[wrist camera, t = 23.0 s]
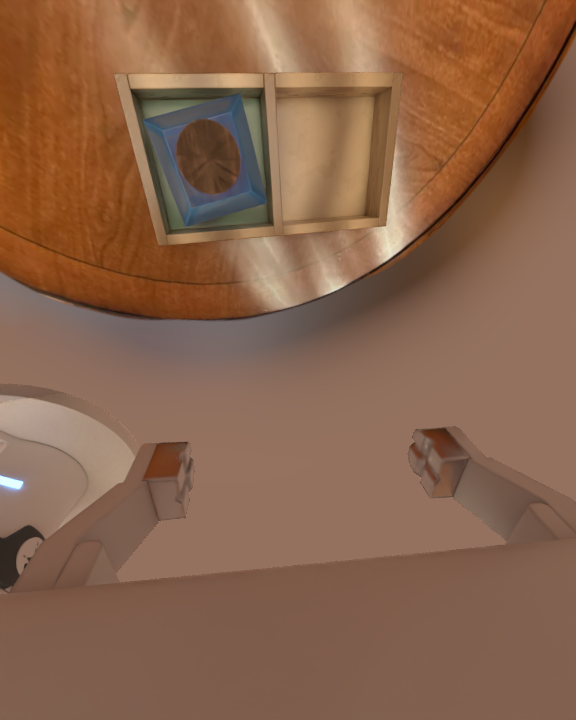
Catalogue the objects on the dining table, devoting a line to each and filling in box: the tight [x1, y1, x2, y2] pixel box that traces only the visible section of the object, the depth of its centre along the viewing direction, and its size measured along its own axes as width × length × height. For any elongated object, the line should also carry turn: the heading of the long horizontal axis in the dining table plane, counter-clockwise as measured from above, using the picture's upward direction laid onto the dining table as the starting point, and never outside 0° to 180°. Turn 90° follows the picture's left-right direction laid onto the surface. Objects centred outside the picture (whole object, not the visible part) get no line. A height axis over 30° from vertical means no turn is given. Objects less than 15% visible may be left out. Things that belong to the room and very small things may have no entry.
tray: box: [114, 73, 403, 246], centre depth 25 cm, size 20×11×4 cm, turn 93°
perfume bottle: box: [143, 93, 267, 227], centre depth 20 cm, size 6×6×12 cm
